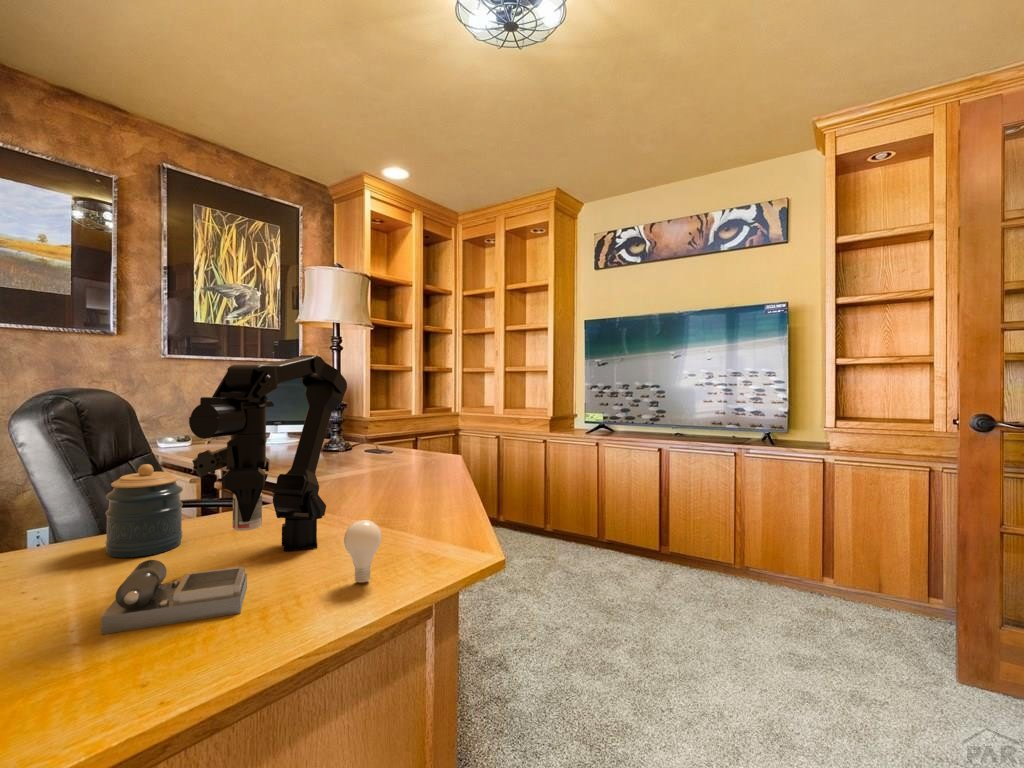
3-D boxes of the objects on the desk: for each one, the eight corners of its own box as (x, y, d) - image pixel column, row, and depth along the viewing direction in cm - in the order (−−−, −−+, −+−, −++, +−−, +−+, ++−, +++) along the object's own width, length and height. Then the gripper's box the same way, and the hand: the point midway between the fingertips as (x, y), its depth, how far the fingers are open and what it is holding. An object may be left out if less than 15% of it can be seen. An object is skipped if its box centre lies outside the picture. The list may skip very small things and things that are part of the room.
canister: (157, 535, 112) (158, 457, 112) (196, 543, 107) (197, 461, 107) (90, 553, 100) (91, 466, 100) (130, 563, 95) (131, 471, 95)
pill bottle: (267, 525, 92) (268, 480, 92) (246, 532, 87) (247, 485, 87) (248, 522, 93) (248, 478, 93) (226, 529, 89) (226, 483, 89)
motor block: (246, 587, 84) (247, 547, 84) (239, 615, 74) (240, 569, 74) (124, 604, 78) (125, 560, 78) (99, 636, 68) (99, 586, 68)
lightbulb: (346, 593, 83) (347, 527, 83) (340, 579, 88) (341, 518, 88) (384, 586, 86) (385, 523, 86) (376, 573, 91) (377, 514, 91)
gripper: (206, 429, 96) (205, 509, 96) (185, 440, 79) (184, 537, 79) (270, 428, 100) (269, 504, 100) (263, 437, 83) (262, 530, 83)
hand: (247, 518), depth 90 cm, fingers closed on pill bottle, 5 cm apart
